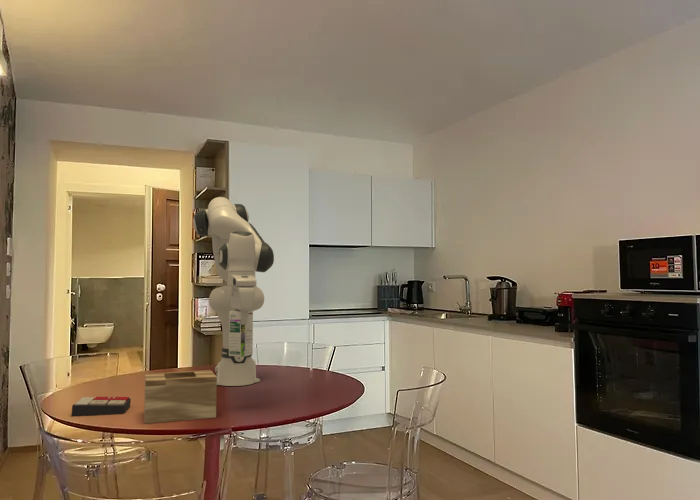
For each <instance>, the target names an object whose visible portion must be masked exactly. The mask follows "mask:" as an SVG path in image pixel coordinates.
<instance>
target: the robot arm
mask: <svg viewBox="0 0 700 500" xmlns="http://www.w3.org/2000/svg"><path fill="white" fill-rule="evenodd" d="M249 218H250V216H249V212H248V210H247V208H246V206H245V205H243V204H241V203H234V204H233V203H232V202H231V201H230V200H229V199H228V198H226V197H224V196H218V197H215V198H213V199H211V201H210V202H209V204H208V205H207V208H206V209H201V210H198V211H196V212H195V213H194V215H193V219H192V225H193V226H192V227H193V229H194V231H195V233H197V235H198V236H199V237H208V236H211V237H212V238H211V242H212V244H211V245H212V246H211V247H212V252H213V259H214V263H215V267H216V272H217V275H218V276H219V277H220V279H222V280H223V281H224V282H225V283H226V285H223V286H219V287H216V288H214V289H213V290H211V292H210V294H209V297H208V303H209V306H210V309H211V310H212V311H213V312H214V313H215V314H216V315H217V317H218V319H219V321H220V324H221V327H222V329H221V330H222V348H221V352H220V353H221V355H220V356H221V359H220V360H219V362H218V364H217V365H216V366H215V367H214V372H215V373H216V374H215V375H216V377H217V386H223V387H225V386H226V387H230V386H231V387H238V386H239V387H240V386H242V387H243V386H248V385H252V384H255V383H256V384H257V383H260V382H261V379H260V378H258V377H257V369H256V361H255V360H254V359H253V357H252V356H253V354H252V355H249V356H245V357H238V356H229V311H232V310H241V324H242V325H246V324H247V317H248V311H253V312H255V311H257V310H259V309H261V308H262V307H263V305H264V302H265V294H264V292H263V290H262V289H261V288H260V287H258V286H257V278H256V273H257V272H258V273H266V272H267V271H269V270H270V269H271V268H272V266H273V264H274V262H275V255H274V251H273V248H272V247H271V246H270V244H268V243H267V242H265V240H264V239H263V238H262V236H261V235H260V234H259V232H258V230H256V229H257V228H255V227H254V226H253V224H252V223H250V222H249V220H250V219H249Z"/></svg>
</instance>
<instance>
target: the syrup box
mask: <svg viewBox="0 0 700 500" xmlns="http://www.w3.org/2000/svg"><path fill="white" fill-rule="evenodd" d="M253 331H254V311H248V317H247V324H246V325H242V324H241V310H232V311H229V356H238V357H245V356H249V355H252V356H253V351H254V349H253V348H254V346H253V345H254V343H253V341H254V339H253V338H254V337H253V336H254V334H253V333H254V332H253Z"/></svg>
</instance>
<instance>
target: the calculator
mask: <svg viewBox="0 0 700 500" xmlns="http://www.w3.org/2000/svg"><path fill="white" fill-rule="evenodd" d="M131 402H132V401H131V398H130V396H95V397H94V396H93V397H92V396H90V397H89V396H84V397H81V398H80V399H79V400H77V401H76V402H75V403H74V404H72V406H71V415H70V416H71V418H72V417H86V416H108V415H109V416H111V415H112V416H113V415H114V416H115V415H125V414H126V413H127V411H128V410H129V408H130V407H131Z"/></svg>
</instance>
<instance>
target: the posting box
mask: <svg viewBox="0 0 700 500" xmlns="http://www.w3.org/2000/svg"><path fill="white" fill-rule="evenodd" d="M217 386H218V385H217V377H216V374H215V373H214V372H213V370H212V369H206V370H205V369H203V370H202V369H200V370H187V371H186V370H185V371H184V370H183V371H166V372H164V371H163V372H150V373H149V372H148V373H144V401H143V402H144V404H143V408H144V410H143V416H144V424H155V423H157V424H158V423H167V422H178V421H188V420H189V421H190V420H202V419H203V420H204V419H213V418H214V419H215V418H217Z"/></svg>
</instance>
